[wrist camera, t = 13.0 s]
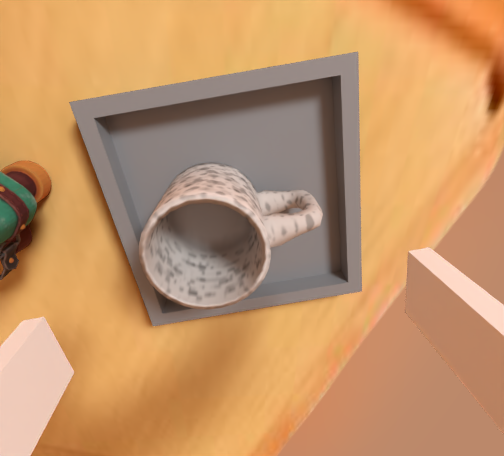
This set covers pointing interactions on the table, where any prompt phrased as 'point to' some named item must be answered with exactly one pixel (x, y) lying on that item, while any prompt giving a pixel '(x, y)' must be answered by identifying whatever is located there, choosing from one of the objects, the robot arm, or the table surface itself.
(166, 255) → the mug
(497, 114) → the table surface
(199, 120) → the tray
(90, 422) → the table surface
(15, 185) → the binoculars
